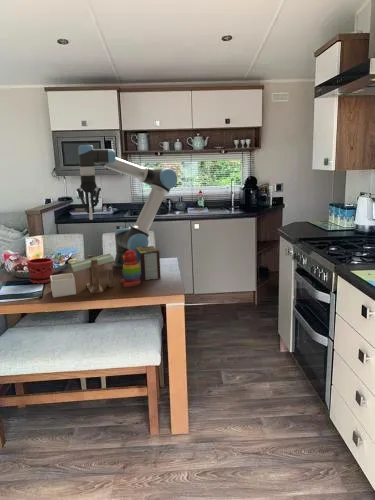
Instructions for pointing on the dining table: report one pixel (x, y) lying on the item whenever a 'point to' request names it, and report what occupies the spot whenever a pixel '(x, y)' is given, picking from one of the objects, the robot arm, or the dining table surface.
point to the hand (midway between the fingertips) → (91, 219)
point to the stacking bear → (130, 269)
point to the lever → (87, 263)
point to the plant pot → (40, 270)
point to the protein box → (148, 262)
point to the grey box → (63, 285)
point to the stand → (97, 277)
